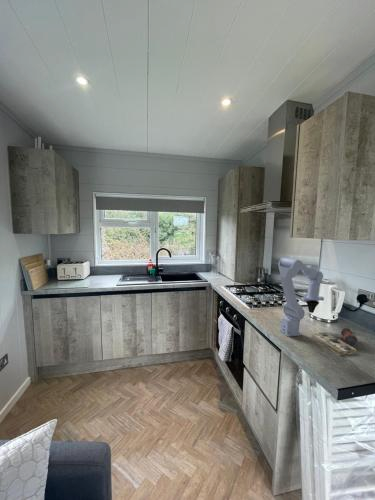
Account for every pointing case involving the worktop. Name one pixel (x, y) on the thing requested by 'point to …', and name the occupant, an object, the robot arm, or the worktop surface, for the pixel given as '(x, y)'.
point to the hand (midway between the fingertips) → (311, 312)
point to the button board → (333, 344)
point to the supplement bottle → (349, 337)
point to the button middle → (334, 339)
